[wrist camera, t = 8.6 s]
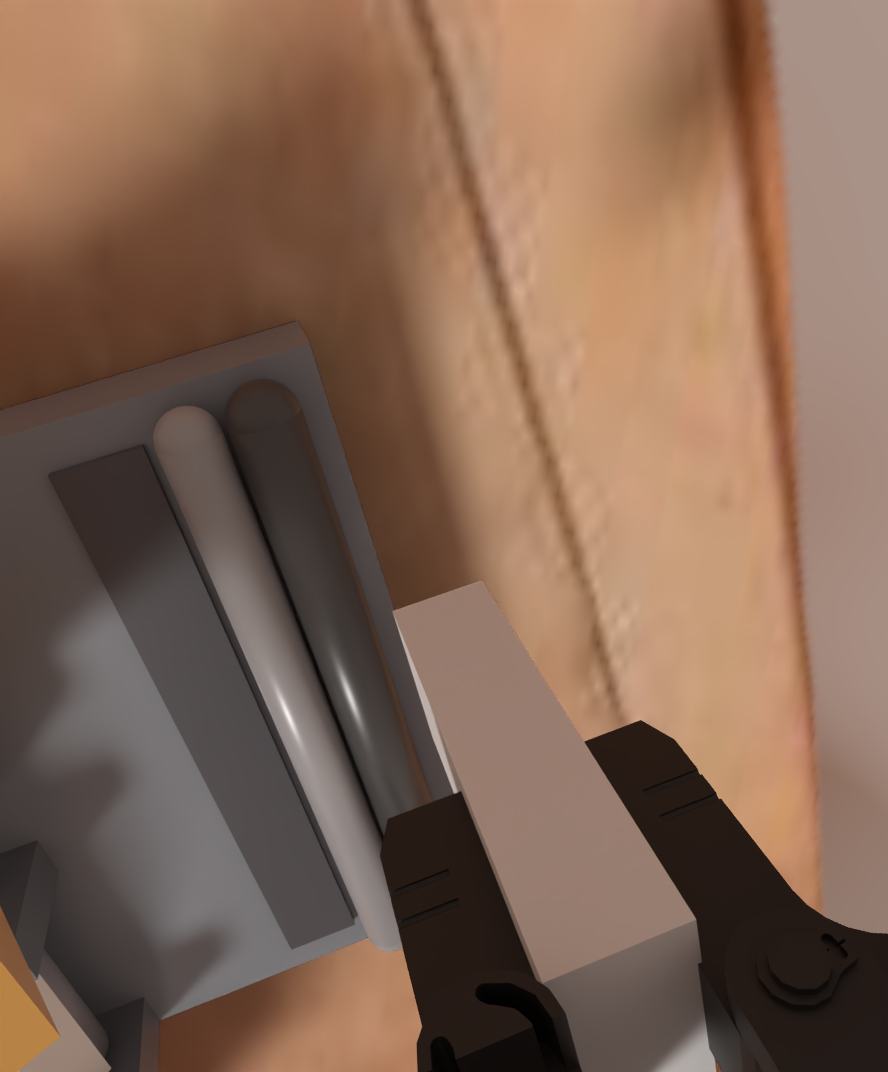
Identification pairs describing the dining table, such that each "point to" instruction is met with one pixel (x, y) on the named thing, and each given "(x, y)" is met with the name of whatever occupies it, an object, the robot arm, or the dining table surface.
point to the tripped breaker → (20, 1007)
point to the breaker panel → (195, 687)
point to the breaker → (68, 1027)
